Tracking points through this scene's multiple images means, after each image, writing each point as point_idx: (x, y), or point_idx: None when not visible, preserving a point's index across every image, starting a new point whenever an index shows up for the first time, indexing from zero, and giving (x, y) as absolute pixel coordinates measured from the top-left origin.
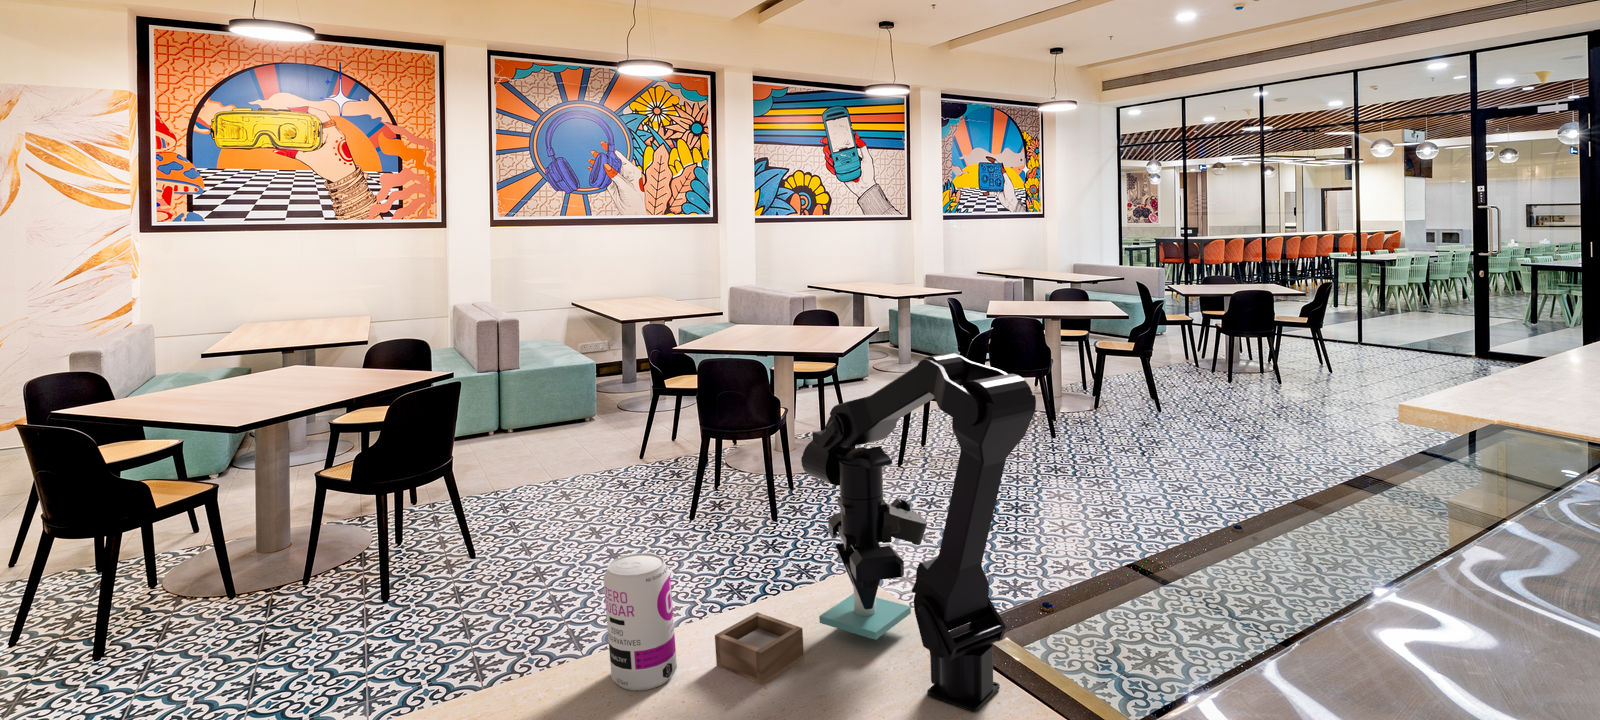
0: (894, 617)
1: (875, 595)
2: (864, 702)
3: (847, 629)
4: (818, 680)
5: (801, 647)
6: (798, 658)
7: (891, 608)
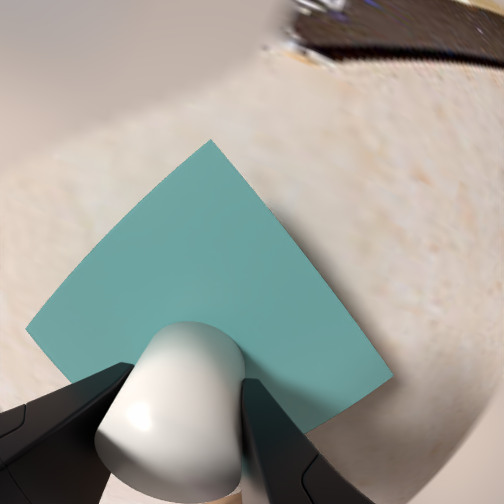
0: (305, 265)
1: (293, 422)
2: (492, 386)
3: None
4: (389, 456)
5: None
6: None
7: (201, 244)
